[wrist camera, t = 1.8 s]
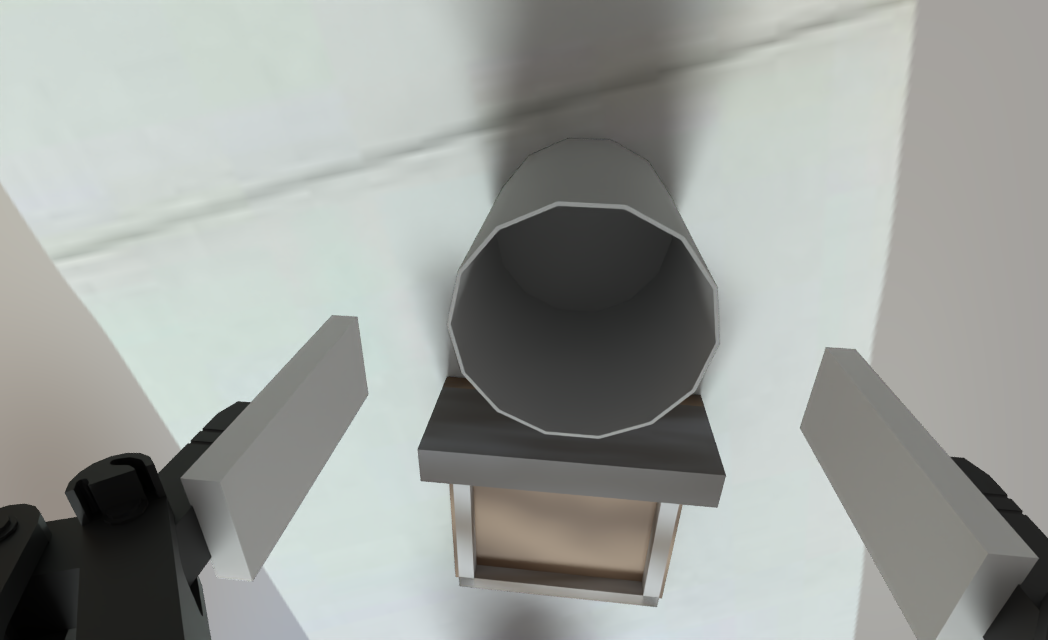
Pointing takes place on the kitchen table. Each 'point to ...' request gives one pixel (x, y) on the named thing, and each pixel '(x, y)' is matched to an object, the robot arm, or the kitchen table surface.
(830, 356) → the robot arm
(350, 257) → the kitchen table surface
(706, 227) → the kitchen table surface
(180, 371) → the kitchen table surface
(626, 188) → the cup
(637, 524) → the brown flat tray-like piece
